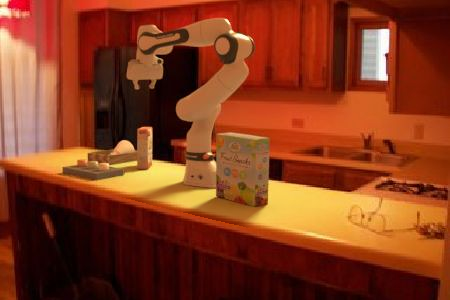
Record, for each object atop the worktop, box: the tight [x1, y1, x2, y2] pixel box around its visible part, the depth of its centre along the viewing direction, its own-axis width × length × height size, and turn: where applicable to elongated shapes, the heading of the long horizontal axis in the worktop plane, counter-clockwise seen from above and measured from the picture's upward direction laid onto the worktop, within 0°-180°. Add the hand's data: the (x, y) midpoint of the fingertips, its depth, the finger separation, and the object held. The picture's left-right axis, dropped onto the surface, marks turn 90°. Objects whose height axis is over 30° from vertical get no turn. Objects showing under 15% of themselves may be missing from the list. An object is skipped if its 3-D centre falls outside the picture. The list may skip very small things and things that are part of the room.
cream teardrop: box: [108, 139, 136, 156], centre depth 277 cm, size 12×12×18 cm
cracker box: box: [136, 126, 153, 170], centre depth 259 cm, size 14×6×21 cm, turn 179°
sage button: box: [87, 161, 98, 169], centre depth 239 cm, size 5×5×4 cm
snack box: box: [215, 131, 271, 208], centre depth 191 cm, size 22×9×26 cm, turn 45°
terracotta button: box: [76, 158, 88, 168], centre depth 244 cm, size 5×5×4 cm
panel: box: [62, 164, 125, 181], centre depth 239 cm, size 26×16×3 cm, turn 53°
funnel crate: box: [87, 148, 137, 166], centre depth 279 cm, size 17×25×5 cm
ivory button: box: [98, 163, 110, 172], centre depth 234 cm, size 5×5×4 cm
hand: (144, 88), depth 236 cm, fingers open, 8 cm apart
